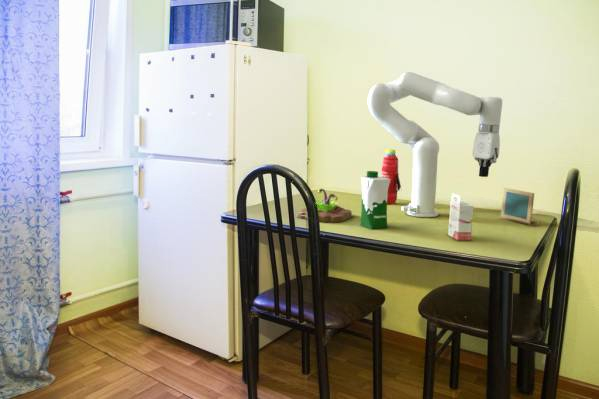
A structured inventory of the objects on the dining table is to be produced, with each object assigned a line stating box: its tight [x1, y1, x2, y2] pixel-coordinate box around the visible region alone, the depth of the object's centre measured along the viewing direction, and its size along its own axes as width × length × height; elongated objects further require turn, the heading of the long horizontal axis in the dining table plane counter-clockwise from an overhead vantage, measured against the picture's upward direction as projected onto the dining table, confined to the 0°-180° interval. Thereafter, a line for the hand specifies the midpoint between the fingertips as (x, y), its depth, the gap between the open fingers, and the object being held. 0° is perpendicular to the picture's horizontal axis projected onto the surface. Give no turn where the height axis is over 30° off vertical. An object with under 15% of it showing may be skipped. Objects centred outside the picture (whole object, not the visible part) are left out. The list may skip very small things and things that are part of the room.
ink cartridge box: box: [447, 192, 474, 241], centre depth 168 cm, size 9×5×15 cm, turn 5°
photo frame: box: [500, 187, 535, 223], centre depth 195 cm, size 12×14×5 cm
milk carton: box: [360, 170, 390, 230], centre depth 182 cm, size 9×9×20 cm
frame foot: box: [501, 217, 539, 227], centre depth 195 cm, size 2×15×2 cm, turn 24°
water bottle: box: [381, 148, 402, 205], centre depth 229 cm, size 12×8×25 cm, turn 36°
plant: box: [297, 188, 353, 223], centre depth 199 cm, size 20×20×11 cm
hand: (483, 176), depth 197 cm, fingers closed
